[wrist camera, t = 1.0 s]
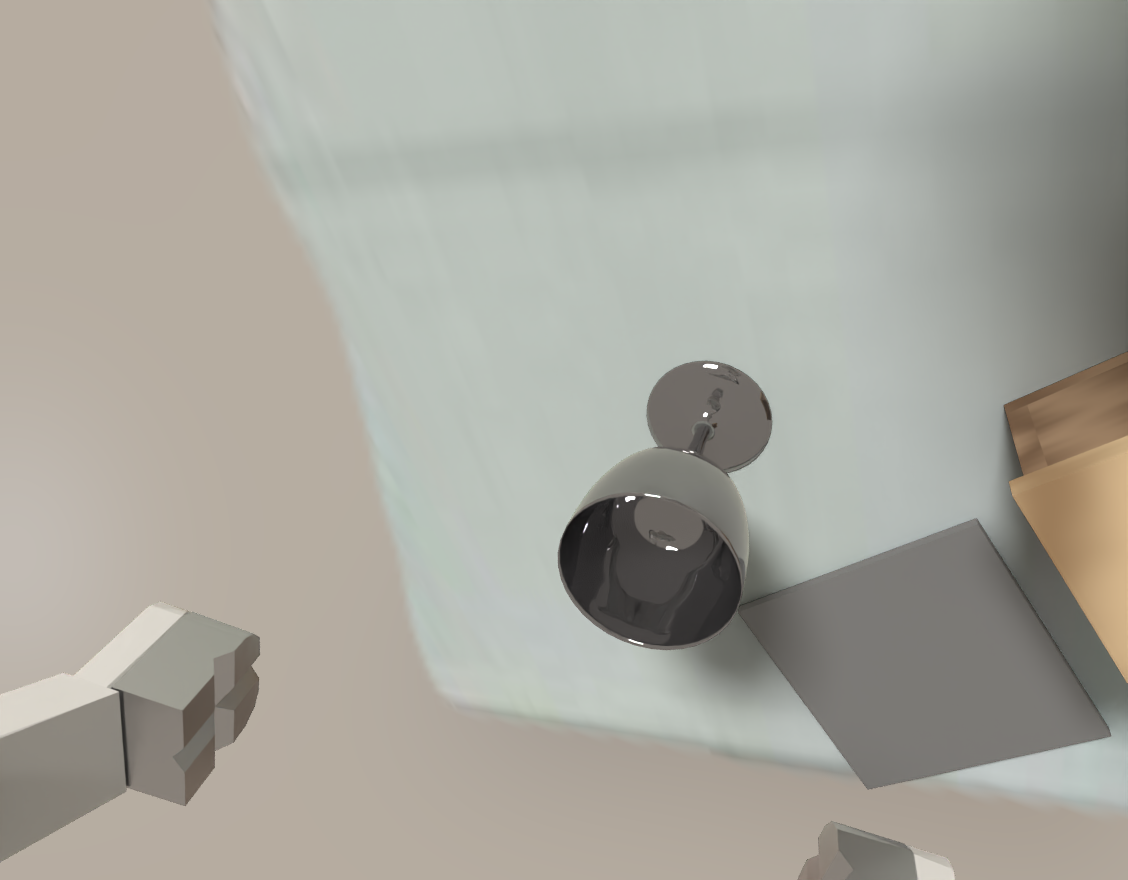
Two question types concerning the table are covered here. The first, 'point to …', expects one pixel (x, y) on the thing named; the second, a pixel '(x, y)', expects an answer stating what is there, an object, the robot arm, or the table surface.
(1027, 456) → the storage box
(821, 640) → the mat
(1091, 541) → the lid
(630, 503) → the wine glass
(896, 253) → the table surface
